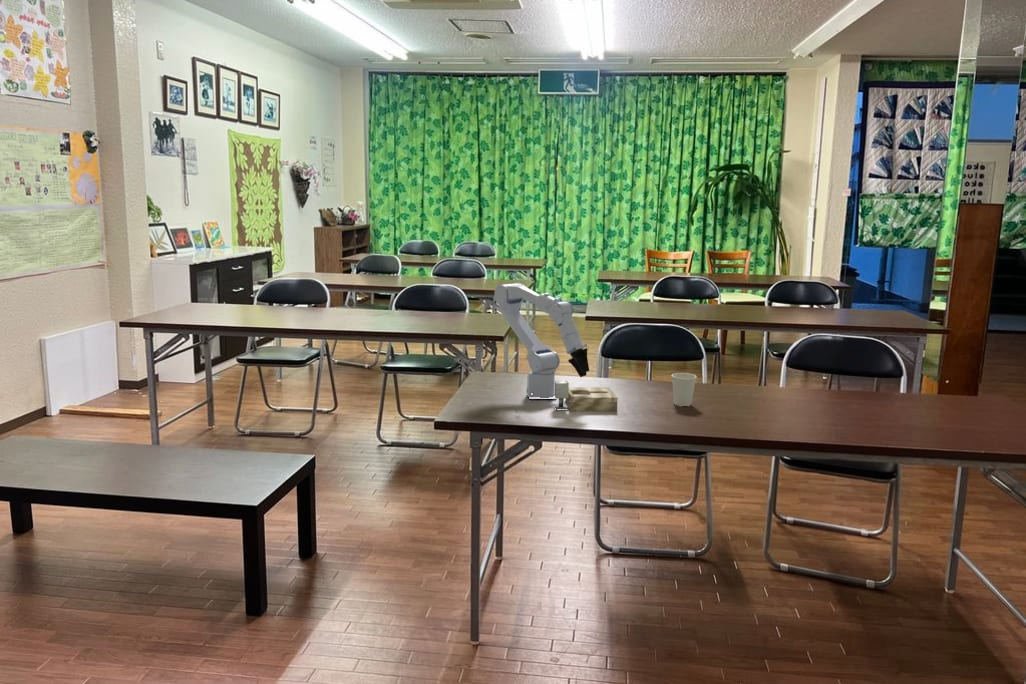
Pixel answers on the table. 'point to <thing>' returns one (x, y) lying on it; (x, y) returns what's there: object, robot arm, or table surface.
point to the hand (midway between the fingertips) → (584, 374)
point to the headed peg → (561, 393)
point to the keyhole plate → (592, 398)
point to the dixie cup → (683, 388)
